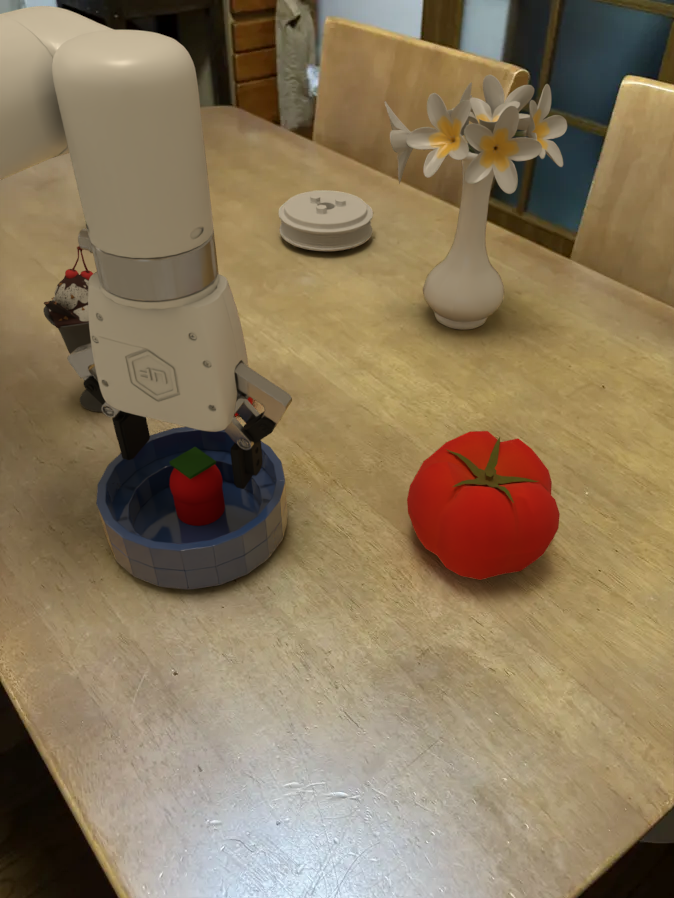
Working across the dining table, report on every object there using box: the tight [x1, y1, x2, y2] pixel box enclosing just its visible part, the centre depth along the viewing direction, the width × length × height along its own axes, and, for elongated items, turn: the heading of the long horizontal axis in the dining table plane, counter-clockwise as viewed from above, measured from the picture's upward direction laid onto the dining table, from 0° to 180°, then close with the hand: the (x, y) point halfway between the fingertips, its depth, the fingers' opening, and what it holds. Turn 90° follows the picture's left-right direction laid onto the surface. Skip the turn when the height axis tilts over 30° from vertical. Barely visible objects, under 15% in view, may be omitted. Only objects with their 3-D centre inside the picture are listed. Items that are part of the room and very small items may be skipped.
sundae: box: [43, 245, 103, 413], centre depth 70 cm, size 7×7×15 cm
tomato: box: [406, 430, 561, 581], centre depth 59 cm, size 11×12×9 cm
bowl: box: [95, 426, 289, 591], centre depth 61 cm, size 14×14×5 cm
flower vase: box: [384, 74, 568, 331], centre depth 80 cm, size 13×18×25 cm
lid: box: [277, 189, 374, 252], centre depth 101 cm, size 13×13×5 cm
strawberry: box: [169, 447, 225, 526], centre depth 61 cm, size 4×4×5 cm
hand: (191, 462), depth 59 cm, fingers open, 9 cm apart
